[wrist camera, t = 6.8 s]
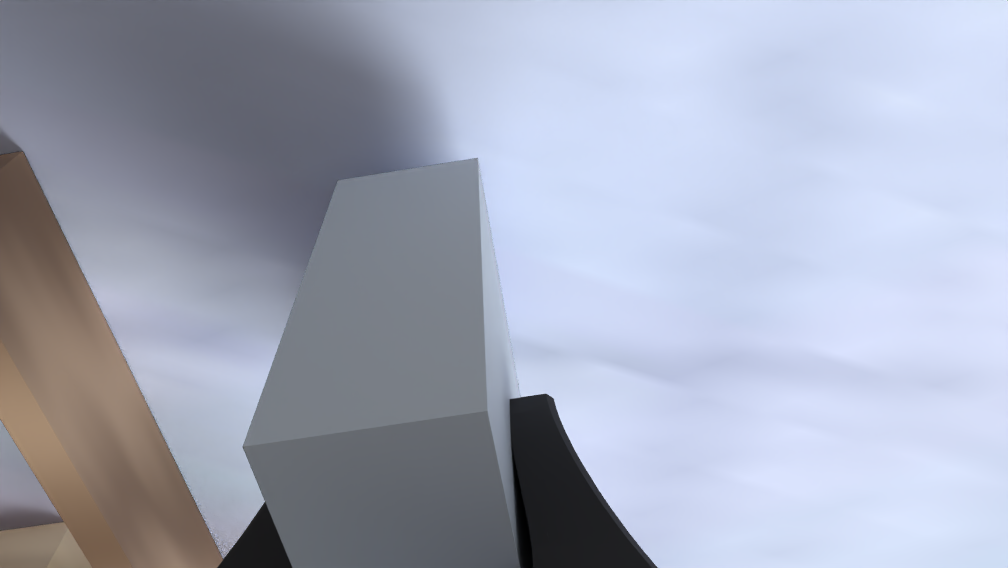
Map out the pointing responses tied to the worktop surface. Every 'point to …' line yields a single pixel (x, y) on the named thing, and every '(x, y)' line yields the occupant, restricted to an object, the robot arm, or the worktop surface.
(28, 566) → the offcut long
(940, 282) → the worktop surface
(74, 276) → the frame
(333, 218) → the pale grey rectangular prism
